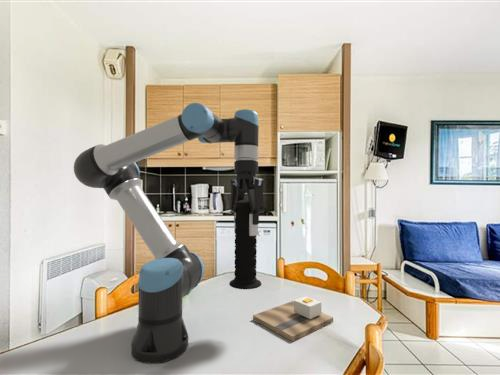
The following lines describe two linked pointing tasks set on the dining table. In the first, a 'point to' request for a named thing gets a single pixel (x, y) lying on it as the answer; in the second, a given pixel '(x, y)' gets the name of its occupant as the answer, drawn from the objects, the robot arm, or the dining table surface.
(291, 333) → the subfloor panel
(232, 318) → the dining table surface
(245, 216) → the handle grip
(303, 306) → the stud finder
